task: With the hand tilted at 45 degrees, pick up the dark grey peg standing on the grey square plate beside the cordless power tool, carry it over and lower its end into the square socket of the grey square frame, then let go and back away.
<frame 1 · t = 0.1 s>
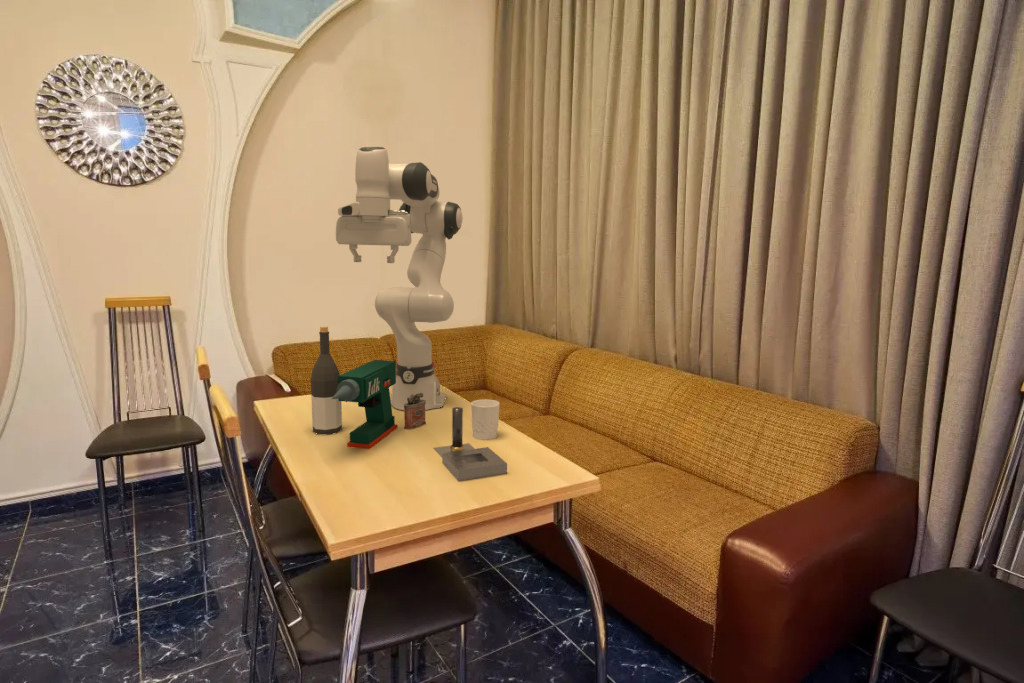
hand: (374, 262, 159), 48 cm above the table, tool pointing down, fingers open, 8 cm apart
lighter: (415, 428, 174), on the table
grey square frame: (473, 470, 142), on the table
white cup: (484, 438, 166), on the table
grey square plate: (457, 453, 153), on the table
dark grey peg: (457, 451, 153), resting on grey square plate
wine bottle: (327, 431, 169), on the table
power tool: (363, 445, 158), on the table
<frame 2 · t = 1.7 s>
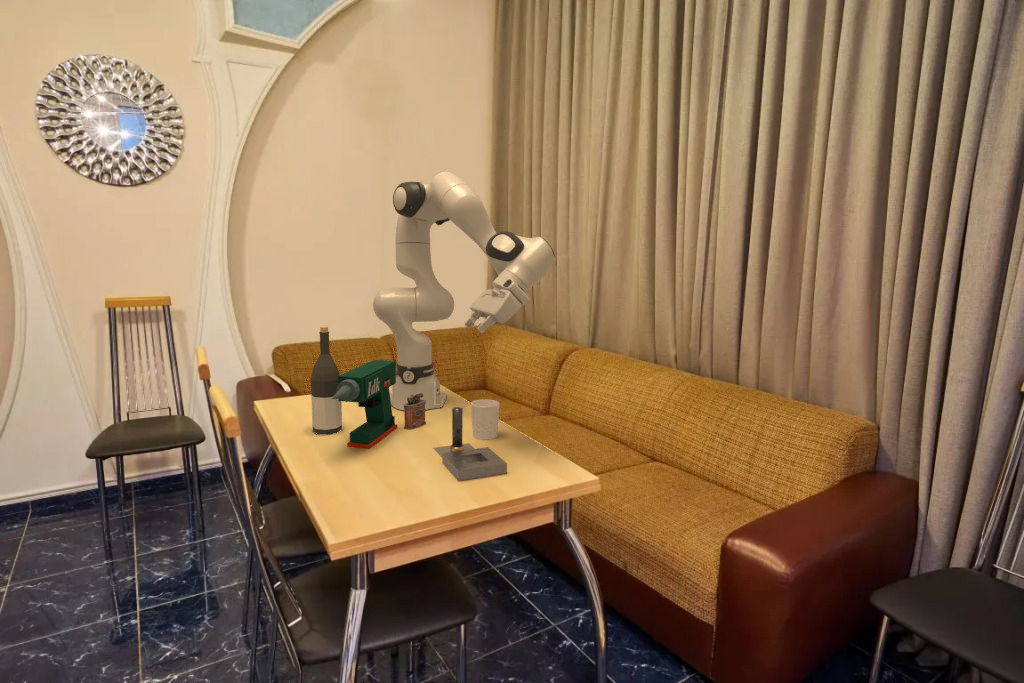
hand: (472, 328, 151), 32 cm above the table, tool tilted 45°, fingers open, 8 cm apart
nothing on the table moved.
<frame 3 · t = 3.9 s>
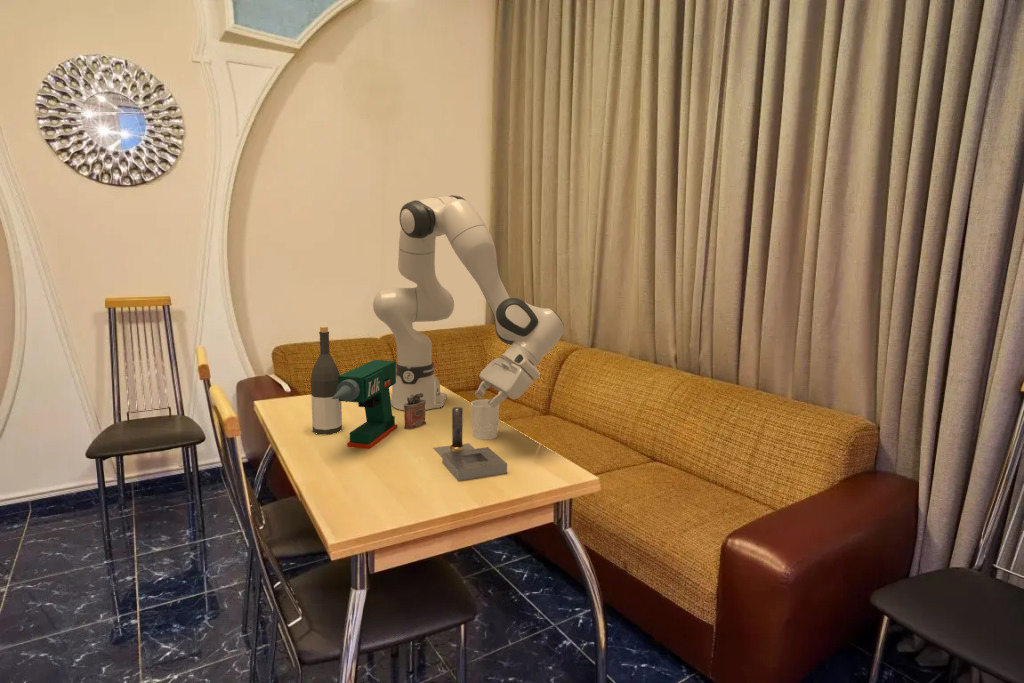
hand: (483, 401, 154), 13 cm above the table, tool tilted 45°, fingers open, 8 cm apart
nothing on the table moved.
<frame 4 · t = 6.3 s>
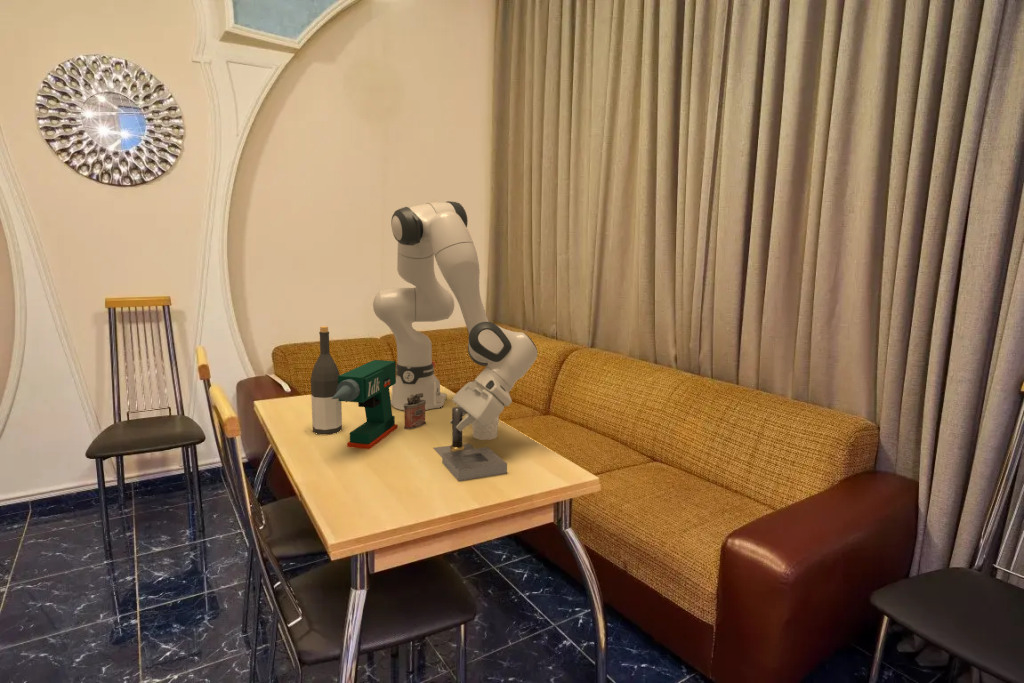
hand: (455, 426, 151), 7 cm above the table, tool tilted 45°, fingers closed on dark grey peg, 3 cm apart
dark grey peg: (457, 451, 153), point 1 cm above the table, touching gripper, grey square plate
everything else where it was.
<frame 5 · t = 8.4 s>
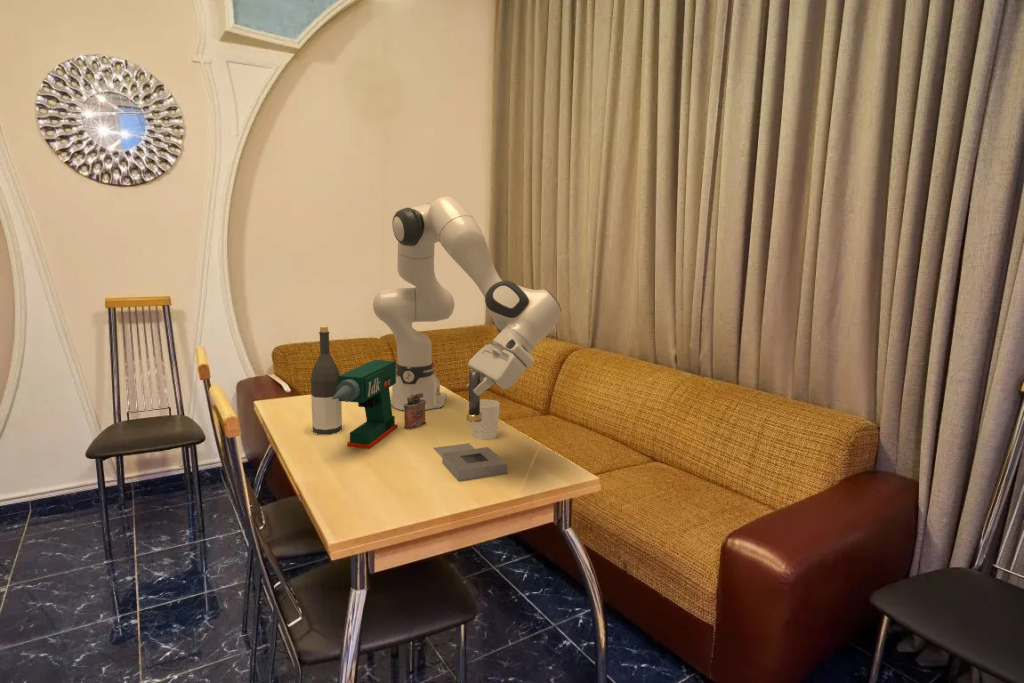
hand: (471, 391, 138), 19 cm above the table, tool tilted 45°, fingers closed on dark grey peg, 3 cm apart
dark grey peg: (474, 419, 140), point 13 cm above the table, touching gripper
everything else where it was.
when the fingers open (8 cm above the table, at t = 10.6 s): dark grey peg drops 1 cm, resting in grey square frame.
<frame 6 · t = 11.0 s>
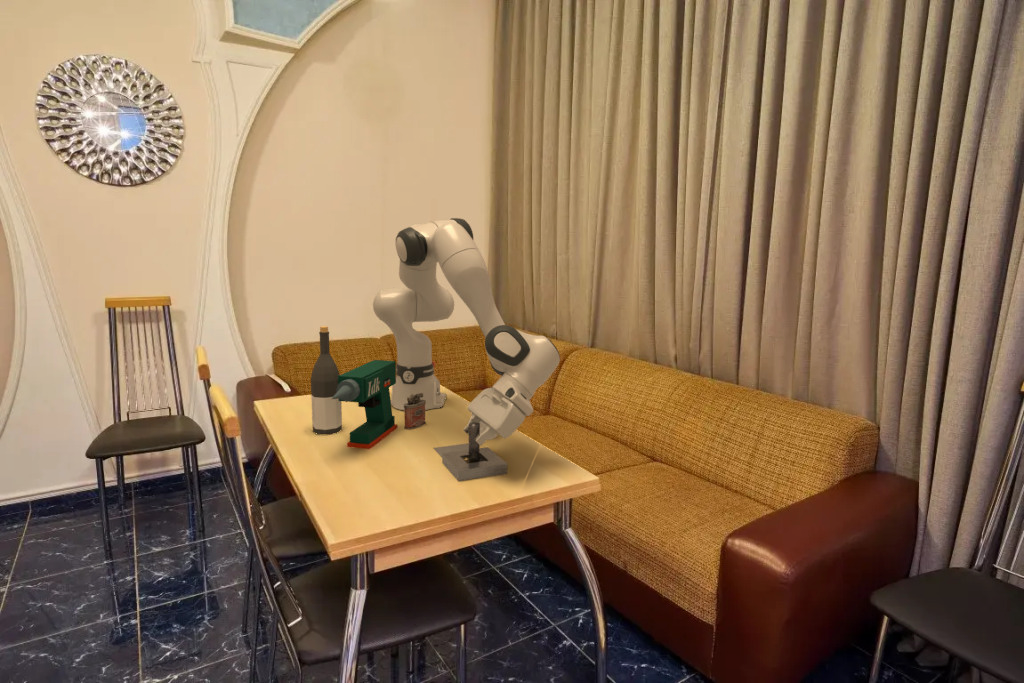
hand: (471, 437, 140), 8 cm above the table, tool tilted 45°, fingers open, 6 cm apart
dark grey peg: (473, 470, 142), resting in grey square frame
everything else where it was.
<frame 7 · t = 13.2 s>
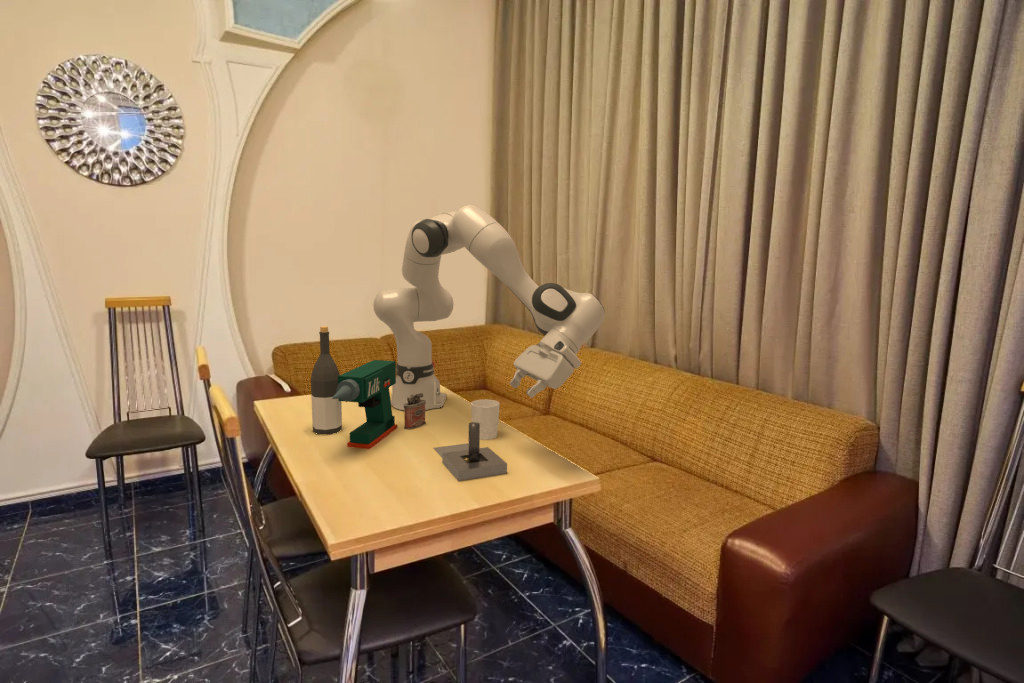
hand: (520, 390, 145), 18 cm above the table, tool tilted 45°, fingers open, 8 cm apart
nothing on the table moved.
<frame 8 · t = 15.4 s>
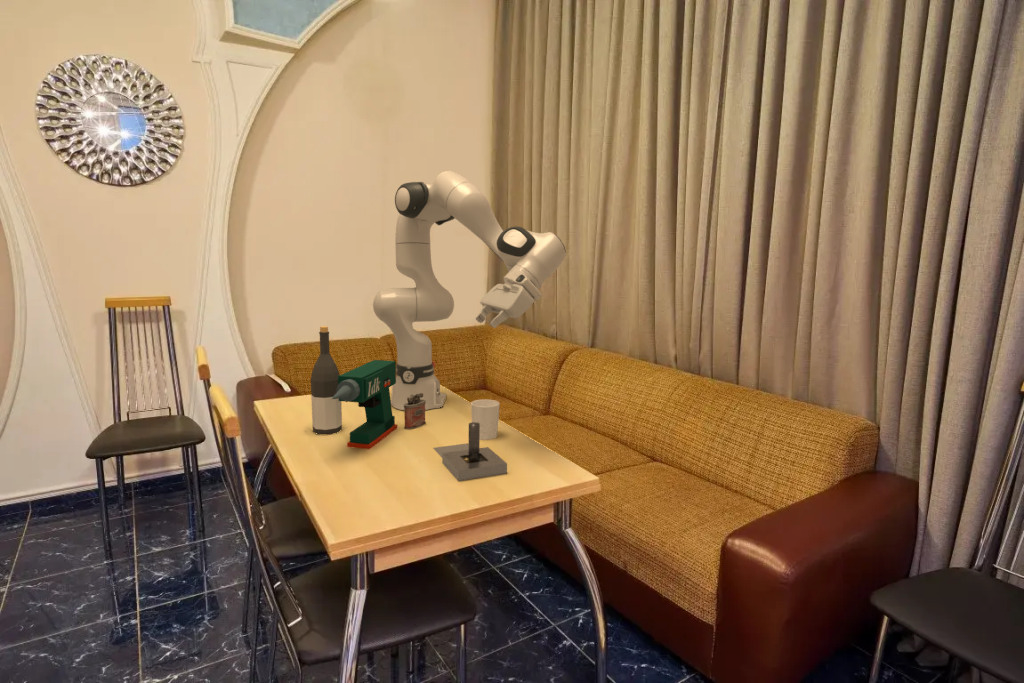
hand: (484, 323, 152), 33 cm above the table, tool tilted 45°, fingers open, 8 cm apart
nothing on the table moved.
at the end: dark grey peg 0.1 cm off-centre on the grey square frame, point 0.0 cm above the grey square frame's base; dark grey peg tilted 0°; the gripper is holding nothing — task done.
